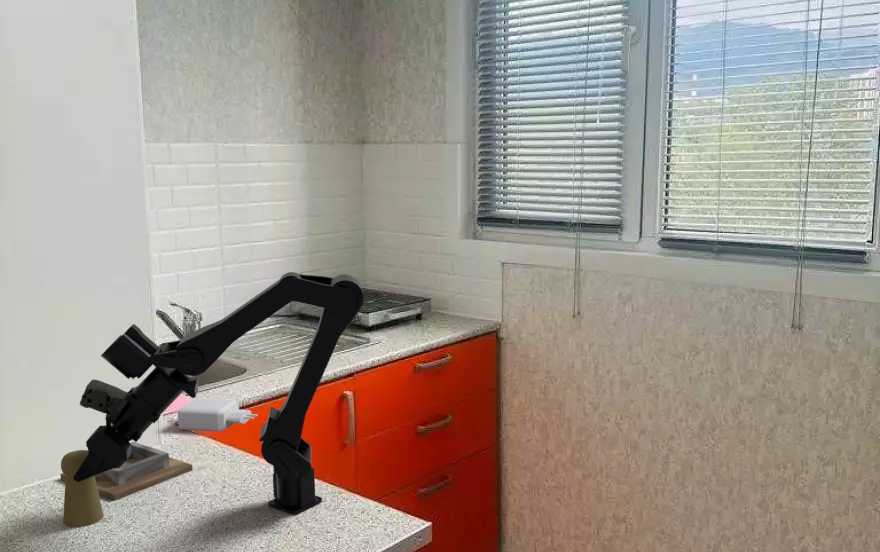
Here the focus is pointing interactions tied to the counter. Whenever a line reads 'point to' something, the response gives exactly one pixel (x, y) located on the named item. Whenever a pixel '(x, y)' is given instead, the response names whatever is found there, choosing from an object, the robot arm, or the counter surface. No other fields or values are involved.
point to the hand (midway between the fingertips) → (83, 468)
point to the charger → (211, 415)
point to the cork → (79, 493)
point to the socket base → (138, 472)
